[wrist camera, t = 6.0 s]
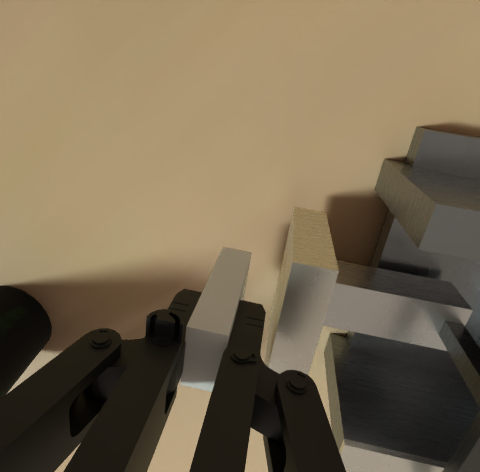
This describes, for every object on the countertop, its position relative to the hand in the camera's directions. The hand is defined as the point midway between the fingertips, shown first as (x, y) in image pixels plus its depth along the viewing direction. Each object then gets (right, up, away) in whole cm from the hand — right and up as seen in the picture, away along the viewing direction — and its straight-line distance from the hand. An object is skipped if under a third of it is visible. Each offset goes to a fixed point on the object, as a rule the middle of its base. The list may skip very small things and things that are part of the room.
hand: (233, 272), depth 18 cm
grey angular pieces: (+6, -2, +1) cm, 7 cm away
